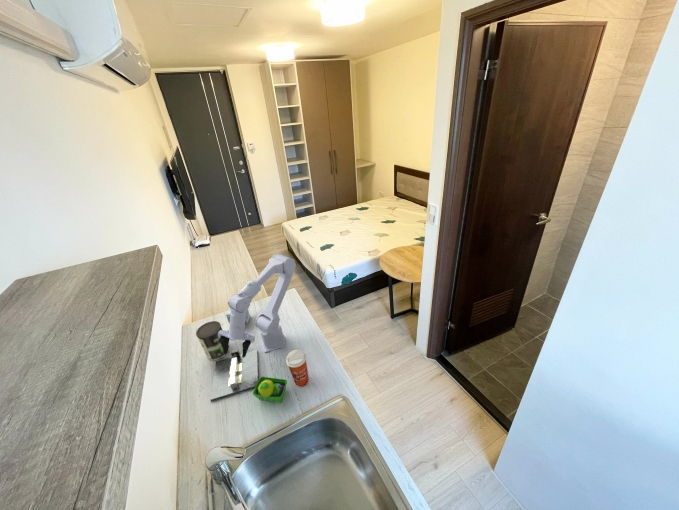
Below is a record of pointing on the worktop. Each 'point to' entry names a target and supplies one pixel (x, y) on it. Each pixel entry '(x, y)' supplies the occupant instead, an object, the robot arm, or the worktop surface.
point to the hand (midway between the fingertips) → (235, 354)
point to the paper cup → (298, 367)
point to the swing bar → (234, 371)
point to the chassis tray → (245, 375)
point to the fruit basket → (270, 389)
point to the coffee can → (211, 340)
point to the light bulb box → (245, 316)
